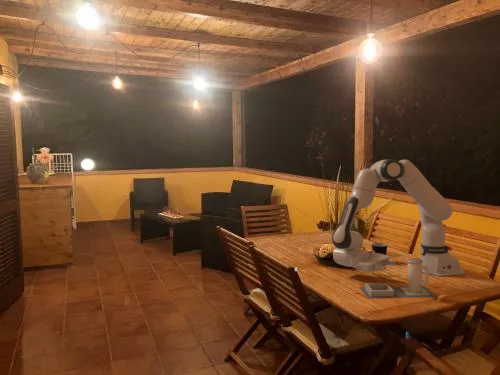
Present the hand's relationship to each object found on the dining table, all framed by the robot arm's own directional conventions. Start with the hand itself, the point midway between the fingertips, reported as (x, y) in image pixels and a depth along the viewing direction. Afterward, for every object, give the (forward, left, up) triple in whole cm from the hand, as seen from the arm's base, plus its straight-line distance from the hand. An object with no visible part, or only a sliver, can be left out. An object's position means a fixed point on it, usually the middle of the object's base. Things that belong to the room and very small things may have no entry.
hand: (389, 266), depth 198 cm
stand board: (-1, +8, -10) cm, 14 cm away
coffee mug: (-9, -45, -11) cm, 47 cm away
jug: (-10, +9, -9) cm, 16 cm away
